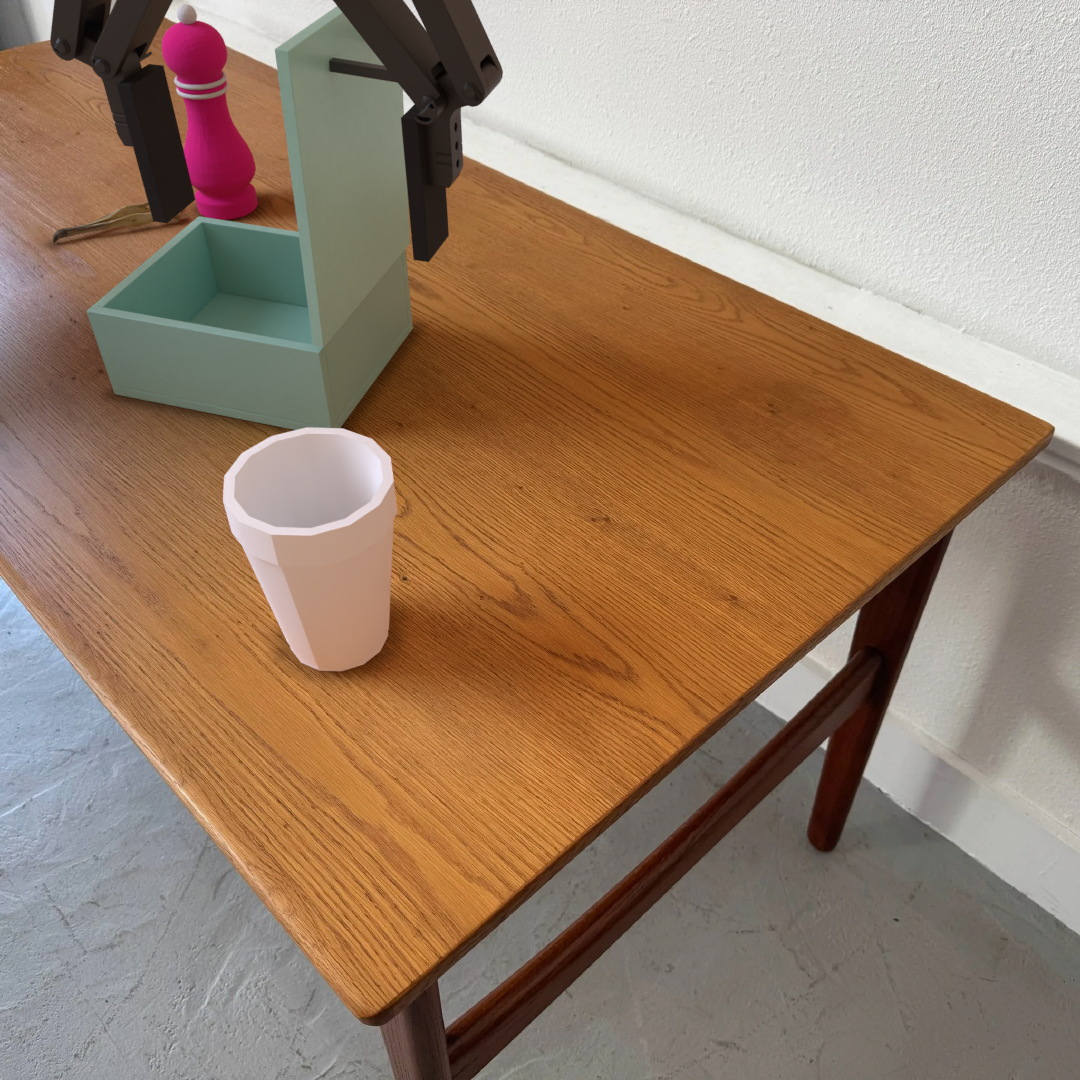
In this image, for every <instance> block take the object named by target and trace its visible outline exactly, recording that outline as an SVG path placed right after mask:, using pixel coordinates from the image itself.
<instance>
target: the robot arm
mask: <svg viewBox="0 0 1080 1080" xmlns="http://www.w3.org/2000/svg"><path fill="white" fill-rule="evenodd" d="M112 1H113V0H53V10H52V18H51V28H50V38H49V39H50V40H49V41H50V46H51V49H52V51H53V52H54V53H55V55H56V56H57V57H58V58H60V59H61V60H64V61H65V62H70V61H72V60H77V61H79V62H81V63H83V64H85V65H87V66H89V67H91V68H92V70H93V72H94V73H95V75H96V76H97V77H99V78H100V79H101V81H102V84H103V87H104V90H105V94H106V98H107V101H108V105H109V109H110V112H111V116H112V119H113V122H114V127H115V130H116V133H117V136H118V137H119V140H120V141H121V143H122V145H123V146H124V147H131V148H133V152H134V156H135V159H136V163H137V166H138V170H139V174H140V177H141V182H142V186H143V189H144V192H145V195H146V200H147V202H148V204H149V205H148V207H150V213H151V215H152V218H153V221H154V222H153V223H162V224H168V223H169V222H171V221H172V220H174V219H173V218H174V217H175V216H176V215H178V214H179V213H180V212H181V213H182V212H183V211H185V209H187V207H188V206H190V205H191V204H192V203H194V202H195V201H196V199H195V192H194V189H193V188H194V187H193V186H192V183H191V179H190V175H189V171H188V167H187V162H186V158H185V154H184V146H183V143H182V138H181V134H180V129H179V125H178V121H177V117H176V113H175V108H174V105H173V104H174V103H173V100H172V96H171V92H170V87H169V84H168V80H167V79H168V78H167V74H166V71H165V66H164V65H163V64H153V63H148V64H146V65H145V66H143V67H142V64H141V62H142V61H144V60H145V59H147V58H149V57H150V56H151V55H153V52H152V51H151V50H150V51H149V49H150V47H151V45H152V43H153V41H154V39H155V37H156V35H157V33H158V31H159V29H160V28H161V25H162V23H163V21H164V19H165V17H166V16H167V13H168V11H169V10H170V7H171V6H172V3H173V1H174V0H115V3H113V6H112ZM332 1H333V2H334V4H335V5H336V6H338V7H339V9H340V10H341V11H342V13H343V14H344V15H345V16H346V18H347V19H348V20H349V21H350V23H351V24H352V25H353V27H354V28H355V29H356V30H357V32H358V33H359V34H360V35H361V37H362V38H363V39H364V40H365V42H366V43H367V44H368V46H369V47H370V48H371V49H372V51H373V52H374V53H375V54H376V56H377V57H378V58H379V60H380V61H381V62H382V63H383V65H384V66H385V67H386V68H387V70H388V71H389V72H390V73H391V75H392V76H393V77H394V79H395V80H396V81H397V82H398V84H399V85H400V86H401V87H402V89H403V92H404V93H405V94H406V95H407V96H408V98H409V99H410V100H411V102H412V103H413V105H412V106H411V107H410V108H409V109H408V110H407V111H406V112H404V115H403V116H402V117H401V125H402V136H403V147H404V158H405V169H406V181H407V192H408V208H409V226H410V237H411V246H412V257H413V261H418V262H426V263H430V261H431V260H432V259H433V257H434V256H435V255H436V253H437V252H438V251H439V250H440V248H441V247H442V245H443V244H444V243H445V241H447V239H448V238H449V236H450V232H449V216H448V200H447V199H448V198H447V189H450V188H451V187H452V186H453V184H454V183H455V182H456V180H457V179H458V178H460V175H461V172H462V171H463V167H464V152H463V129H462V108H463V107H467V106H468V107H471V108H475V107H478V106H480V105H481V104H482V103H483V102H484V101H485V100H486V99H487V98H488V97H489V96H490V94H492V92H493V91H494V90H495V89H496V87H498V85H499V84H500V83H501V81H502V79H503V75H504V71H503V67H502V64H501V63H500V60H499V58H498V56H497V54H496V53H497V52H496V51H495V49H494V46H493V45H492V43H491V40H490V38H489V36H488V33H487V32H486V29H485V27H484V25H483V23H482V21H481V18H480V16H479V14H478V12H477V9H476V8H475V4H474V2H473V1H472V0H411V2H412V4H413V7H414V8H415V11H416V12H417V15H418V16H419V19H420V20H419V19H418V17H417V16H416V15H415V14H414V12H413V11H412V9H410V7H409V6H408V5H407V3H406V2H405V1H404V0H332ZM111 8H112V9H111ZM420 21H421V22H420ZM148 51H149V52H148Z"/></svg>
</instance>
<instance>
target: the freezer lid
mask: <svg viewBox="0 0 1080 1080" xmlns="http://www.w3.org/2000/svg"><path fill="white" fill-rule="evenodd" d="M274 54H275V62H276V69H277V77H278V78H277V79H278V85H279V94H280V101H281V109H282V115H283V124H284V132H285V139H286V148H287V154H288V155H287V156H288V163H289V170H290V178H291V187H292V194H293V203H294V209H295V210H294V211H295V217H296V225H297V226H296V227H297V232H298V233H299V241H300V249H301V257H302V264H303V272H304V280H305V288H306V295H307V303H308V311H309V319H310V326H311V334H312V342H313V345H314V346H318V347H323V348H324V347H325V346H326V344H327V343H328V342H329V341H330V340H331V338H332V337H333V336H334V335H335V334H336V332H337V331H338V330H339V329H340V327H341V326H342V325H343V324H344V323H345V321H346V320H347V319H348V318H349V317H350V315H351V314H352V313H353V312H354V311H355V309H356V308H357V307H358V306H359V304H360V303H361V302H362V301H363V300H364V298H365V297H366V296H367V295H368V294H369V292H370V291H371V290H372V289H373V288H374V286H375V285H376V284H377V283H378V281H379V280H380V279H381V278H382V277H383V275H384V274H385V273H386V272H387V271H388V269H389V268H390V267H391V266H392V265H393V263H394V262H395V261H396V260H397V258H398V257H399V256H400V255H401V254H402V252H403V251H404V250H405V249H406V250H407V248H408V246H410V244H411V228H410V214H409V203H408V192H407V181H406V169H405V158H404V147H403V136H402V125H401V117H402V116H403V115H404V114H405V108H404V107H405V106H404V90H403V89H402V87H401V86H400V85H399V84H398V82H397V81H396V80H395V79H394V77H393V76H392V75H391V73H390V72H389V71H388V70H387V68H386V67H385V66H384V65H383V63H382V62H381V61H380V60H379V58H378V57H377V56H376V54H375V53H374V52H373V51H372V49H371V48H370V47H369V46H368V44H367V43H366V42H365V40H364V39H363V38H362V37H361V35H360V34H359V33H358V32H357V30H356V29H355V28H354V27H353V25H352V24H351V23H350V21H349V20H348V19H347V18H346V16H345V15H344V14H343V13H342V11H341V10H340V9H339V7H338V6H337V5H336V6H334V8H332V9H331V10H329V11H328V12H326V13H324V14H323V15H322V16H320V17H319V18H317V19H316V20H315V21H313V22H312V23H309V25H308V26H306V27H304V28H302V30H299V32H297V33H296V34H295V35H293V36H292V37H290V38H289V39H288V40H286V41H284V42H283V43H282V44H280V45H279V46H277V47H275V49H274Z"/></svg>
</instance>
